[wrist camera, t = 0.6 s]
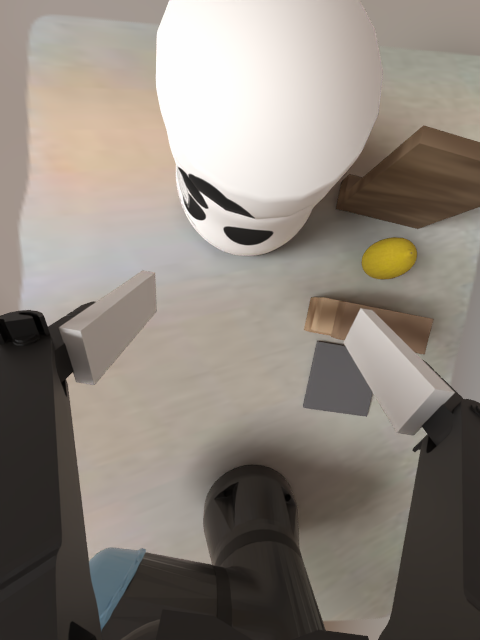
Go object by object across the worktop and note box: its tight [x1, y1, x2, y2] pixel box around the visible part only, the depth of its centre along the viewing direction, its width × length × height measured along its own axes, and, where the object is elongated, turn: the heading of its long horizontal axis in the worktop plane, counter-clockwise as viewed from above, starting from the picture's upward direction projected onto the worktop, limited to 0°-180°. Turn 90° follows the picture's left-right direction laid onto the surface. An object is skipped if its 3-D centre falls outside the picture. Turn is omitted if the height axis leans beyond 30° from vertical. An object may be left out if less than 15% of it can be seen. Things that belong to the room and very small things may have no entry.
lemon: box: [362, 237, 417, 279], centre depth 30 cm, size 6×6×8 cm
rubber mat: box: [303, 341, 373, 416], centre depth 36 cm, size 11×11×1 cm
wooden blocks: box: [304, 126, 480, 354], centre depth 27 cm, size 23×16×14 cm
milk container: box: [156, 0, 383, 256], centre depth 23 cm, size 17×17×18 cm
